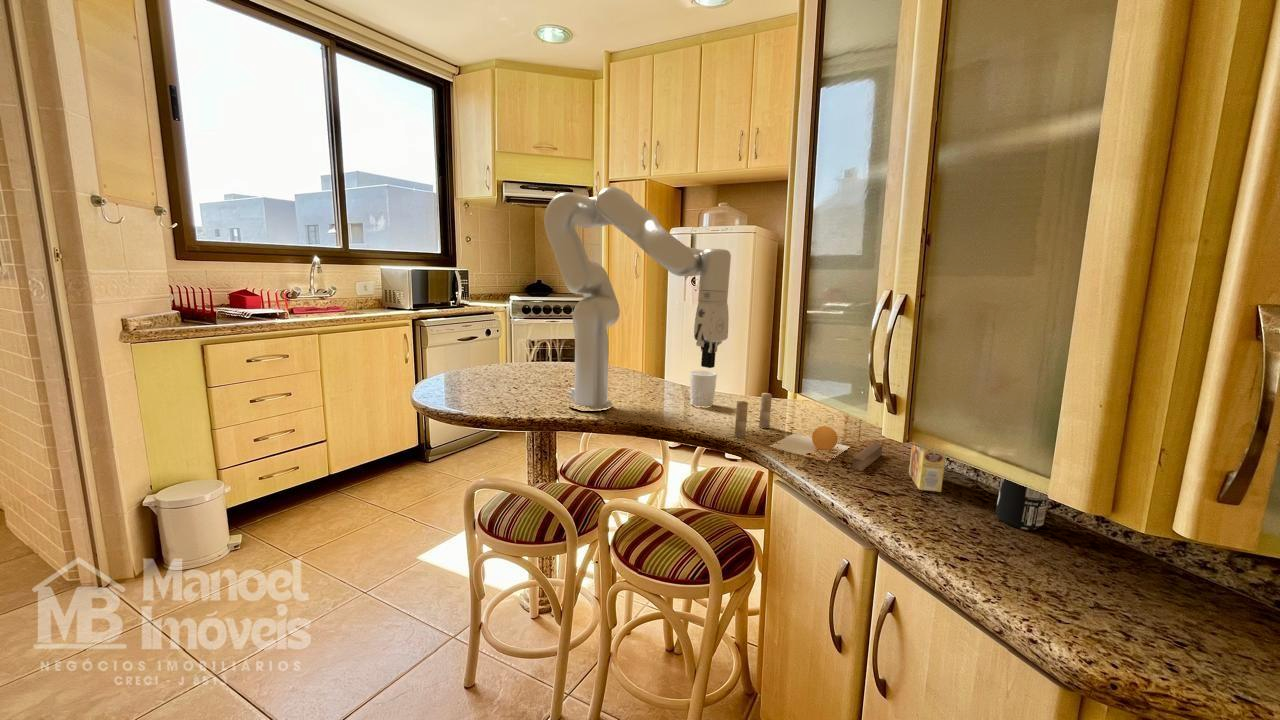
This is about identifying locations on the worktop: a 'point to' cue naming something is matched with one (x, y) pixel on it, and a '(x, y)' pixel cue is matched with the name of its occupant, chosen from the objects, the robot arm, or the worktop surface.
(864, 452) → the stopper wall
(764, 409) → the post
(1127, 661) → the worktop surface
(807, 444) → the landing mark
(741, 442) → the worktop surface
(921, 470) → the candy box
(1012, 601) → the worktop surface
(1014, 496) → the beverage can
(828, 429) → the ball
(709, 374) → the white cup
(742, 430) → the post
